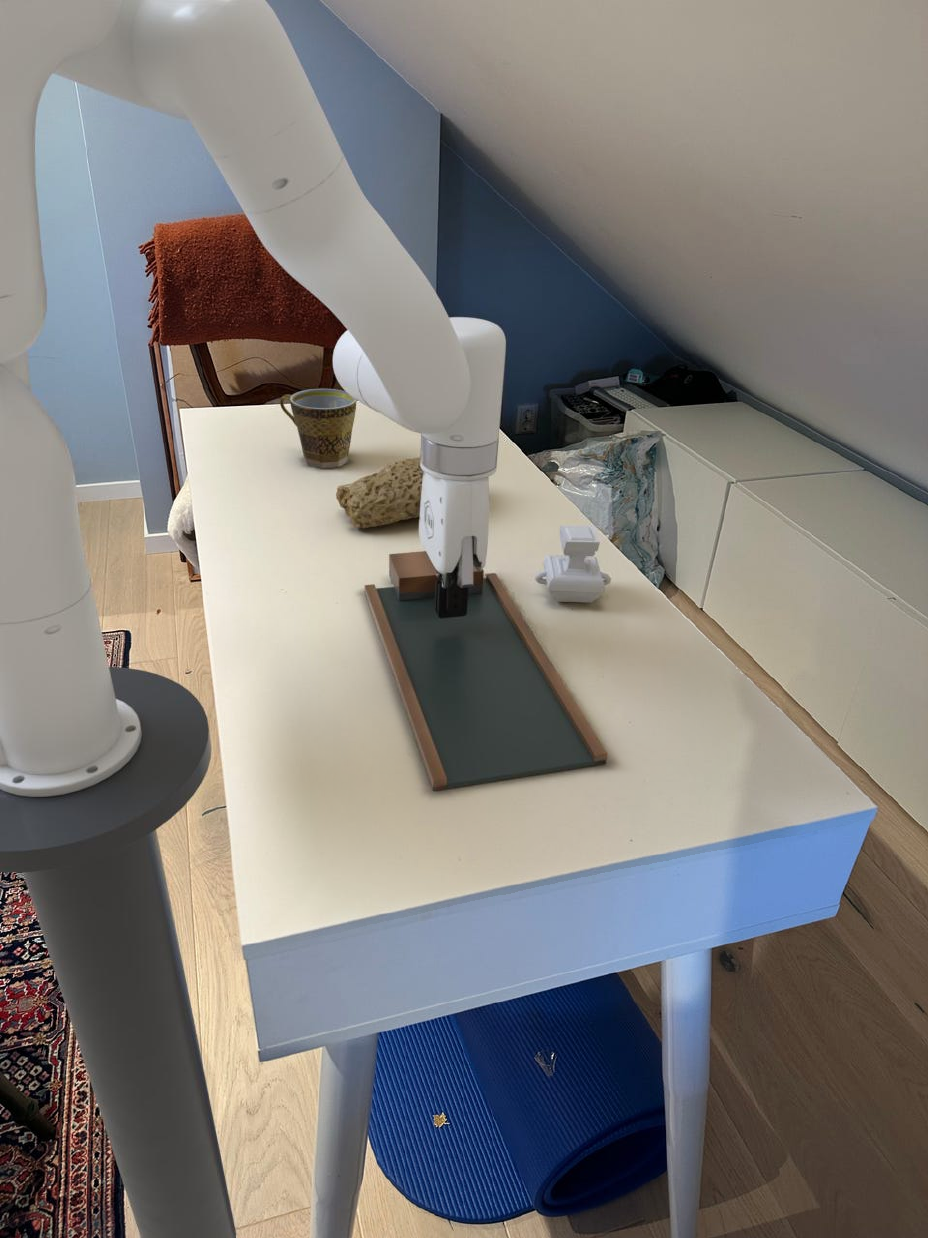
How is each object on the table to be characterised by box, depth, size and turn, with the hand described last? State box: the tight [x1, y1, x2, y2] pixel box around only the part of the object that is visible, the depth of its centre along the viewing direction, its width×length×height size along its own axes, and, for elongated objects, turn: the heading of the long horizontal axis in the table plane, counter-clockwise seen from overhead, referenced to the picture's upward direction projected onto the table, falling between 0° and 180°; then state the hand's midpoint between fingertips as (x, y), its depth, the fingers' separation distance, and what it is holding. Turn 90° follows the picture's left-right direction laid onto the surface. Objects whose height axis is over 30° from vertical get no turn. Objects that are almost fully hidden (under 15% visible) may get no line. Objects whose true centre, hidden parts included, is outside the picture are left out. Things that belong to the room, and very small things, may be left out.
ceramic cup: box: [279, 388, 358, 470], centre depth 133 cm, size 13×10×10 cm
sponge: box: [335, 457, 424, 529], centre depth 120 cm, size 13×8×20 cm
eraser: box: [388, 550, 485, 601], centre depth 102 cm, size 10×6×3 cm, turn 105°
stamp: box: [534, 525, 612, 603], centre depth 101 cm, size 9×7×8 cm
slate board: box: [364, 572, 608, 792], centre depth 89 cm, size 16×34×1 cm, turn 15°
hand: (450, 613), depth 93 cm, fingers closed
